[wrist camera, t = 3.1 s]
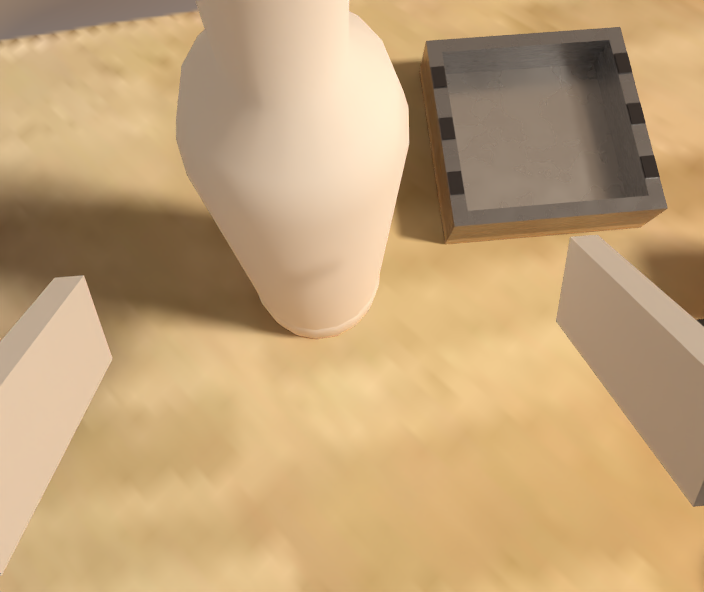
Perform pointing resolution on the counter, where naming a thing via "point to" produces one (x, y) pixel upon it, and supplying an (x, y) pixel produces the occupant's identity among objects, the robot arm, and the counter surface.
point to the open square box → (537, 136)
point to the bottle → (296, 151)
